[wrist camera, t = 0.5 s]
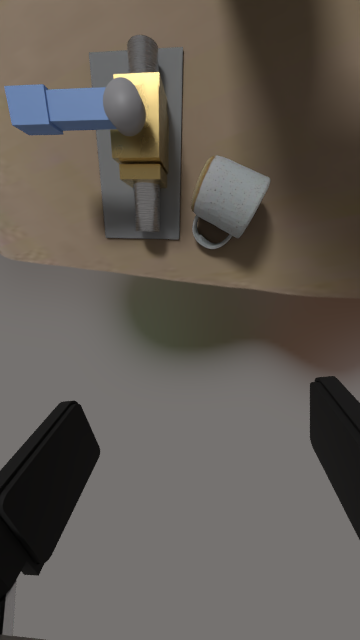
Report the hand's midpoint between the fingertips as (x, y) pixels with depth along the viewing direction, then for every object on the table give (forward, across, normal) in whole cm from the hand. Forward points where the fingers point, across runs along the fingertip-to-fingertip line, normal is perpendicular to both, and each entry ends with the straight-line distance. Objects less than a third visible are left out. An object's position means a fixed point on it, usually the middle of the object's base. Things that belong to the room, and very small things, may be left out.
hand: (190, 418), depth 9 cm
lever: (+21, +9, -21) cm, 31 cm away
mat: (+30, +6, -19) cm, 36 cm away
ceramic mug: (+30, -5, -10) cm, 32 cm away
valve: (+30, +4, -19) cm, 35 cm away
